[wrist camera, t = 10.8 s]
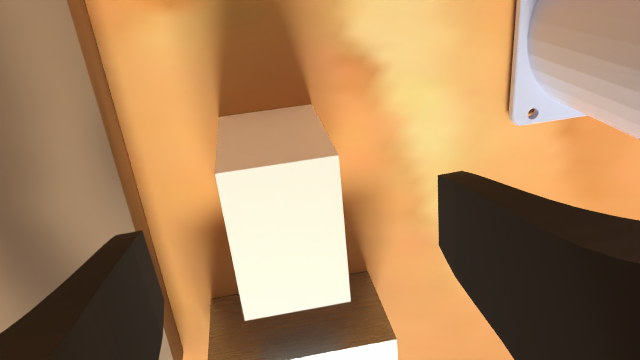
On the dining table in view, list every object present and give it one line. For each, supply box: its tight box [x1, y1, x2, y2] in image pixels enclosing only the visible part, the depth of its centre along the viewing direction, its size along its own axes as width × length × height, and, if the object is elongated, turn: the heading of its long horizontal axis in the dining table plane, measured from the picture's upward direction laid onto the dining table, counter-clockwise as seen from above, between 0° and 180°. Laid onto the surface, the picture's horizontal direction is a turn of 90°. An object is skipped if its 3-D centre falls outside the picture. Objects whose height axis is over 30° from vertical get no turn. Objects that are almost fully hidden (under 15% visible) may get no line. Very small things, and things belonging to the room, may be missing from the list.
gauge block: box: [215, 104, 351, 321], centre depth 20 cm, size 4×6×6 cm, turn 5°
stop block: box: [208, 272, 397, 360], centre depth 24 cm, size 8×3×5 cm, turn 95°
